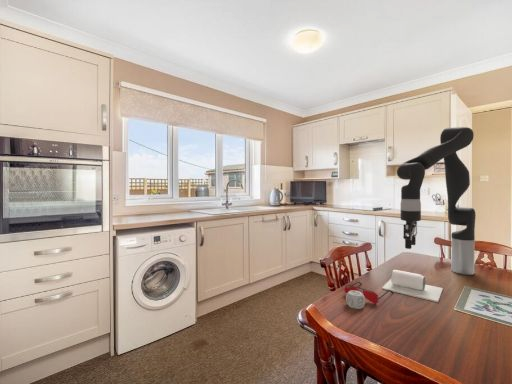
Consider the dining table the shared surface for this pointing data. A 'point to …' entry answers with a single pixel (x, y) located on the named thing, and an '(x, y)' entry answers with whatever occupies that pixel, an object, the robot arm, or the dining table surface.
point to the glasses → (366, 293)
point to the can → (408, 279)
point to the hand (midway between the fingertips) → (410, 246)
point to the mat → (416, 291)
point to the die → (355, 299)
